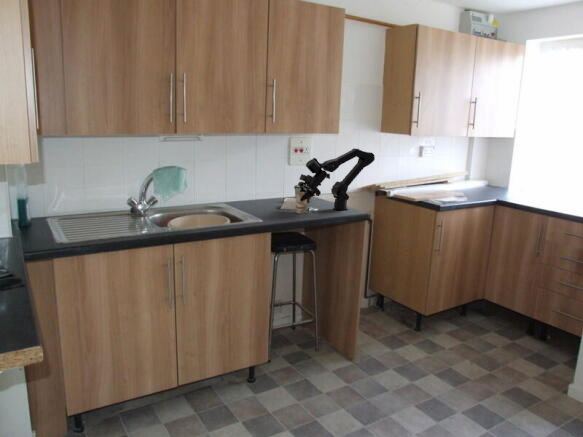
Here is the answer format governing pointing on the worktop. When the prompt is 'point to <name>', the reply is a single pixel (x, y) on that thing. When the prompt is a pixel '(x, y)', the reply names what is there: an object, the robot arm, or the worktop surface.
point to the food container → (297, 189)
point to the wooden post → (300, 203)
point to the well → (289, 204)
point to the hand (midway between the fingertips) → (298, 199)
